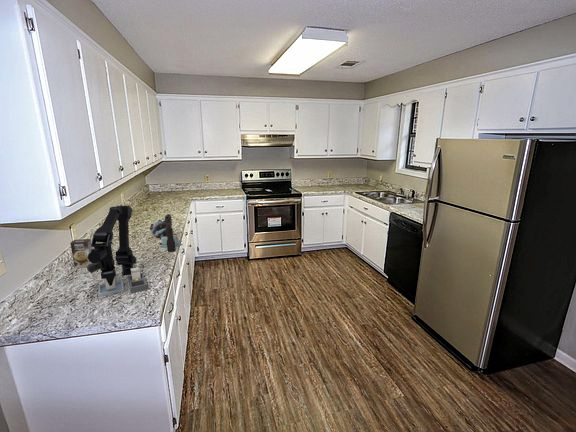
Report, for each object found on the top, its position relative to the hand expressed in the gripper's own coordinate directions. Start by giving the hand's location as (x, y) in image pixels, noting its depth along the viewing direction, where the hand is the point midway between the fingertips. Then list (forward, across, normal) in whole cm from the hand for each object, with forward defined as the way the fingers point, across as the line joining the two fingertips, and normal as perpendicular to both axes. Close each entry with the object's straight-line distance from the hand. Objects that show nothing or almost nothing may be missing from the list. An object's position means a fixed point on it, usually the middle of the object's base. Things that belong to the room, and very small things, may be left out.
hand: (110, 283), depth 155 cm
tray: (+4, 0, 0) cm, 4 cm away
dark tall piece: (+4, -53, +39) cm, 66 cm away
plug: (+2, 0, 0) cm, 2 cm away
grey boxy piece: (+4, +2, +12) cm, 13 cm away
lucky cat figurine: (+4, -82, +37) cm, 90 cm away
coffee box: (+4, -44, -13) cm, 46 cm away
